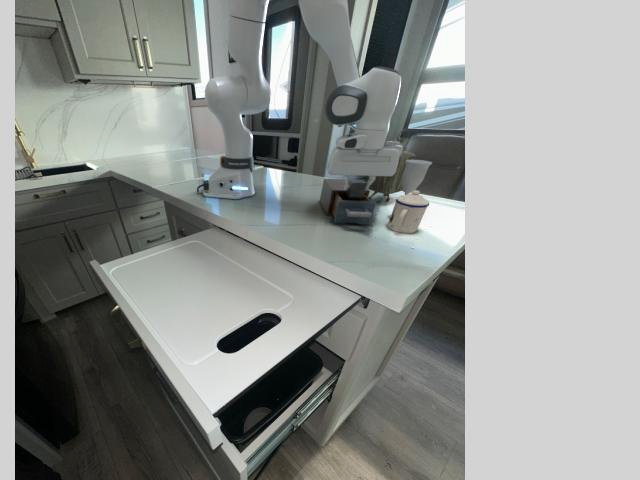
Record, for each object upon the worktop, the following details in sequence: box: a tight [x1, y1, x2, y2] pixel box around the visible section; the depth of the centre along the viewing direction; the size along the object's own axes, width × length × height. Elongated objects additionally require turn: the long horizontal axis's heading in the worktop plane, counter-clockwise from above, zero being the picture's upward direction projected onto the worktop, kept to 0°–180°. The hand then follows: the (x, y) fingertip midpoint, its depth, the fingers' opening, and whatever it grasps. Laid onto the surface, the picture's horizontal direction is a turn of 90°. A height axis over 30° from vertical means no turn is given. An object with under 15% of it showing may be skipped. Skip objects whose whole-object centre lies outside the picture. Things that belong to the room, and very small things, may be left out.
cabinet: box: [319, 178, 371, 216], centre depth 99 cm, size 16×13×9 cm
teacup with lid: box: [387, 189, 430, 234], centre depth 82 cm, size 12×9×12 cm
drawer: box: [330, 193, 377, 224], centre depth 89 cm, size 19×11×7 cm, turn 176°
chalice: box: [389, 159, 433, 218], centre depth 88 cm, size 7×7×18 cm
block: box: [346, 178, 367, 198], centre depth 85 cm, size 4×4×4 cm
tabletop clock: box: [367, 128, 418, 203], centre depth 101 cm, size 14×9×25 cm, turn 122°
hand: (355, 190), depth 86 cm, fingers closed on block, 4 cm apart
